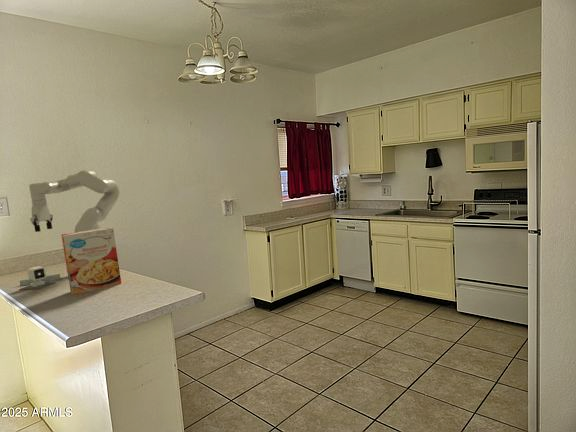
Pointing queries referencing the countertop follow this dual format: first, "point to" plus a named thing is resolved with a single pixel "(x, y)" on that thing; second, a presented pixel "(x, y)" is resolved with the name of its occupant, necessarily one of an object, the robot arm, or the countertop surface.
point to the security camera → (36, 275)
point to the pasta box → (91, 260)
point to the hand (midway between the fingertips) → (44, 230)
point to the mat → (36, 286)
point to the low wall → (48, 278)
